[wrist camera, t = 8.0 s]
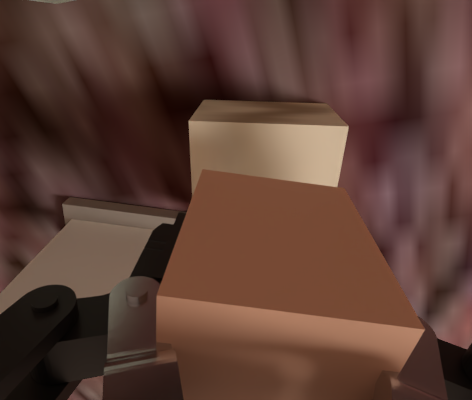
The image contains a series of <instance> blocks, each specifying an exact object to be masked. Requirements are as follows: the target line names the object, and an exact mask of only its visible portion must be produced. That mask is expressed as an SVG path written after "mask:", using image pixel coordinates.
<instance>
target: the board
mask: <svg viewBox="0 0 472 400" xmlns="http://www.w3.org/2000/svg"><path fill="white" fill-rule="evenodd" d="M62 207H63V213H64V219H65V227H64V228H63V229H62V230H61V231H60V232H59V233H58V234H57V235H56V236H55V237H54V238H53V239H52V240H51V241H50V242H49V243H48V244H47V245H46V246H45V247H44V248H43V249H42V250H41V252H40V253H39V254H38V255H37V256H36V257H35V258H34V259H33V260H32V261H31V262H30V263H29V264H28V265H27V266H26V267H25V268H24V269H23V270H22V271H21V272H20V273H19V274H18V275H17V276H16V277H15V279H14V280H13V281H12V282H11V283H10V284H9V285H8V286H7V287H6V288H5V289H4V290H3V291H2V292H1V293H0V314H1V313H2V312H4V311H5V310H6V309H7V308H9V307H10V306H11V305H12V304H14V303H15V302H16V301H17V300H19V299H20V298H21V297H22V296H24V295H25V294H26V293H28V292H30V291H32V290H34V289H36V288H39V287H42V286H46V285H64V286H67V287H69V288H71V289H72V290H73V291H74V292H75V294H76V298H85V297H93V296H100V295H105V294H108V293H110V292H111V290H112V289H113V287H114V286H115V285H116V284H118V283H119V282H121V281H122V280H125V279H127V278H129V277H130V275H131V273H132V271H133V269H134V267H135V265H136V263H137V261H138V259H139V257H140V255H141V253H142V251H143V249H144V247H145V245H146V243H147V241H148V239H149V237H150V235H151V233H152V231H153V230H154V229H155V228H157V227H158V226H159V225H161V224H162V223H166V224H174V222H175V220H176V217H177V215H178V213H179V212H182V211H174V210H166V209H159V208H151V207H143V206H136V205H128V204H120V203H113V202H105V201H97V200H90V199H82V198H74V197H69V198H68V199H67V200H66V201H65V202H64V203H63V204H62ZM186 213H187V212H186Z"/></svg>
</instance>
